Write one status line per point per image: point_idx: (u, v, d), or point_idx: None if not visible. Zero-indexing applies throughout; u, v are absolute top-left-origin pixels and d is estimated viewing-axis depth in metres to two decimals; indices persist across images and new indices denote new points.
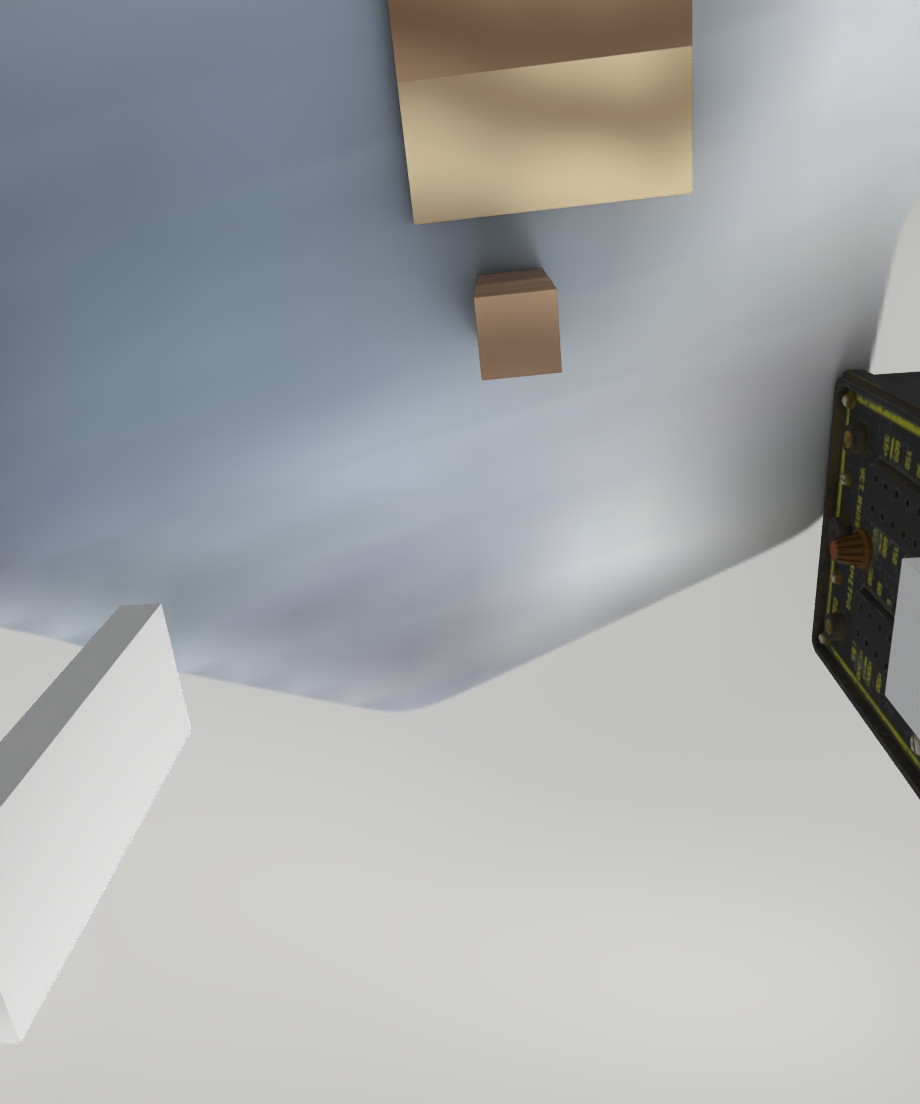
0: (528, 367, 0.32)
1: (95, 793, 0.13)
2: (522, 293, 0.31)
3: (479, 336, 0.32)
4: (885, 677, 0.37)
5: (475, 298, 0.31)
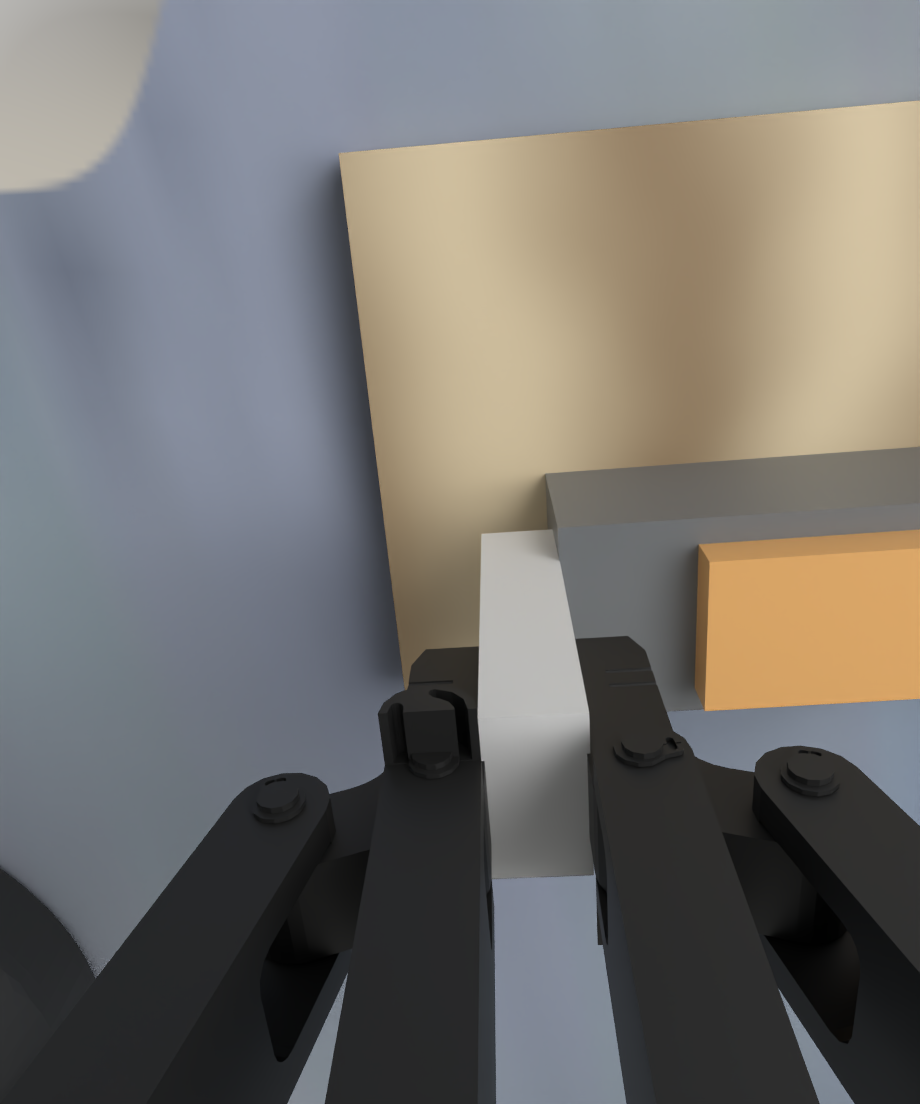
0: None
1: None
2: None
3: None
4: None
5: None
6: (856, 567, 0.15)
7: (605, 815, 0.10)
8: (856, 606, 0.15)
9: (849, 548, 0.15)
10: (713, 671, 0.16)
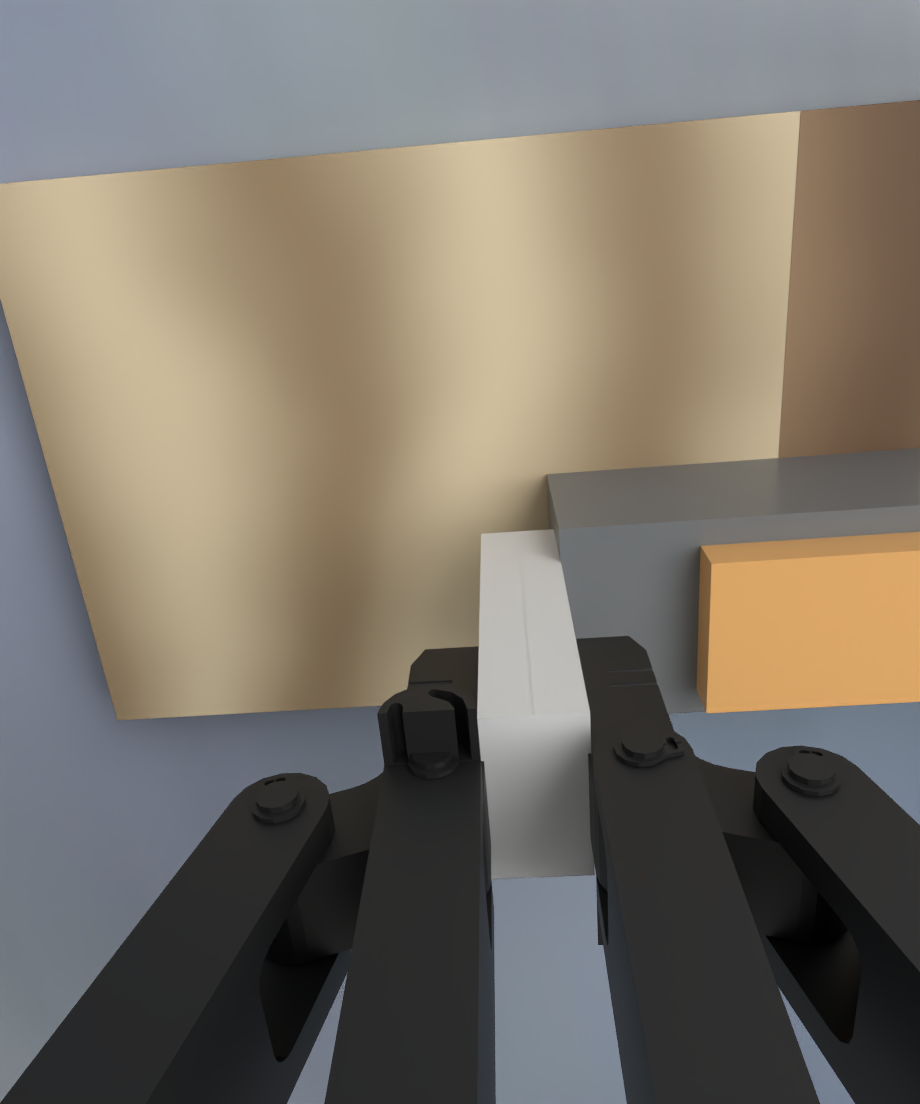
0: None
1: None
2: None
3: None
4: None
5: None
6: (859, 569, 0.15)
7: (605, 815, 0.10)
8: (859, 608, 0.15)
9: (852, 550, 0.15)
10: (714, 673, 0.15)
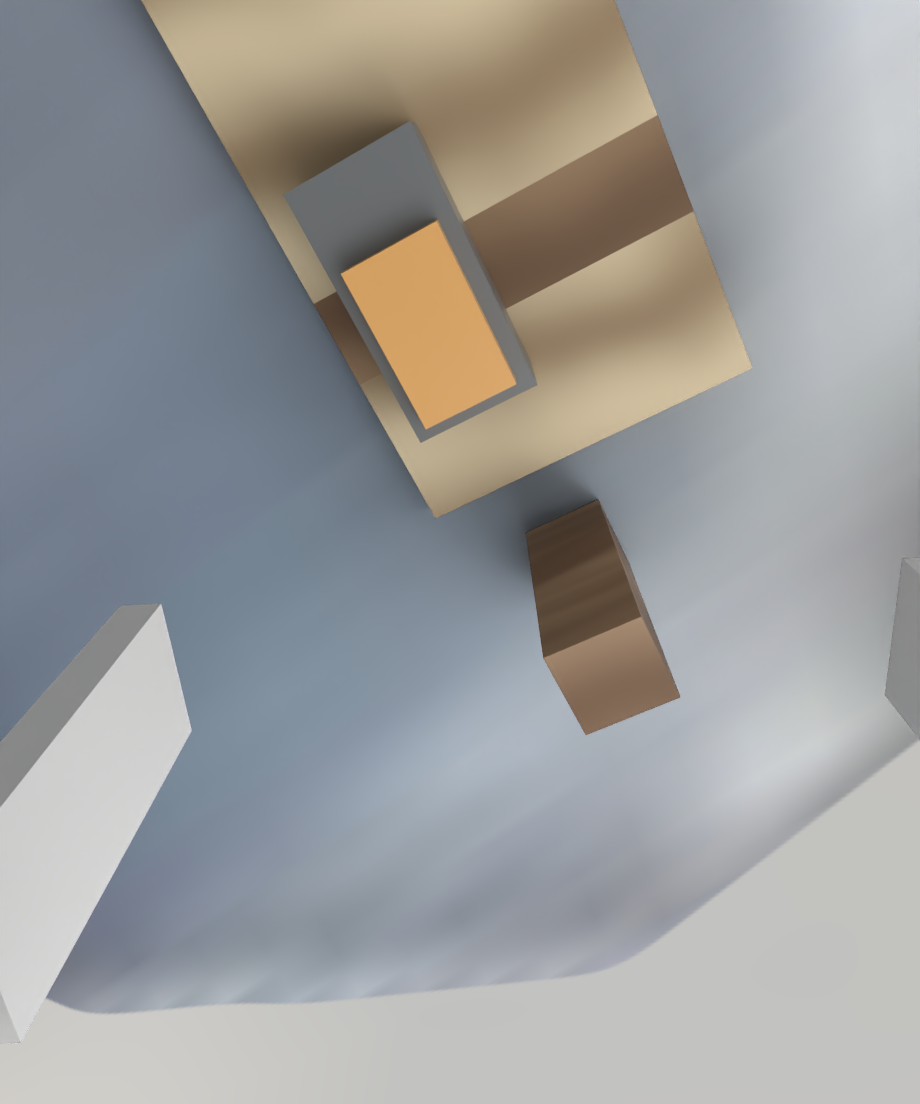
0: (637, 705, 0.25)
1: (95, 793, 0.13)
2: (600, 634, 0.24)
3: (565, 693, 0.25)
4: None
5: (545, 657, 0.25)
6: (468, 310, 0.24)
7: None
8: (446, 324, 0.24)
9: None
10: (368, 264, 0.24)
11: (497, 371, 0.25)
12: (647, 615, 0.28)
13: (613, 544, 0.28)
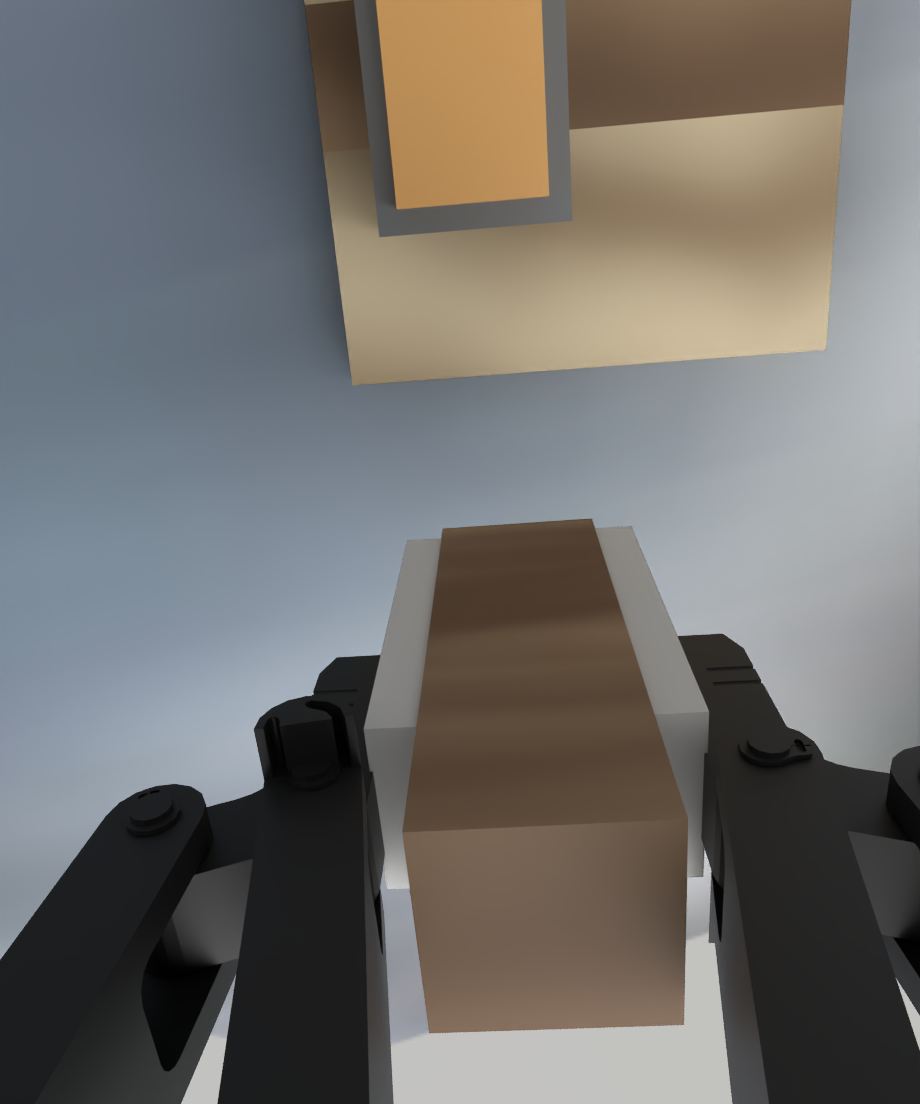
0: (578, 1009, 0.10)
1: None
2: (569, 824, 0.09)
3: (421, 930, 0.10)
4: None
5: (408, 831, 0.09)
6: (528, 51, 0.16)
7: (727, 810, 0.09)
8: (488, 59, 0.16)
9: None
10: None
11: (530, 164, 0.17)
12: None
13: (617, 608, 0.14)
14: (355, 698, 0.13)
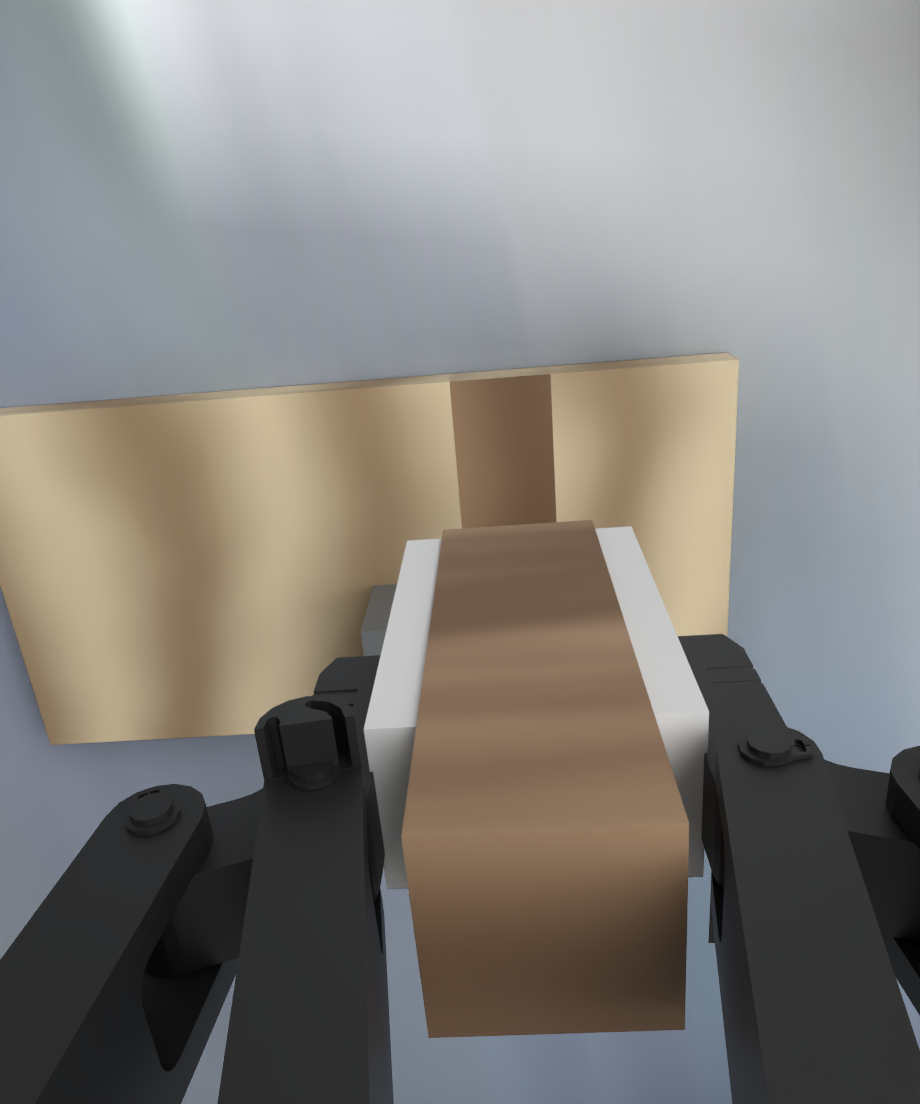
0: (578, 1014, 0.10)
1: None
2: (569, 829, 0.09)
3: (421, 934, 0.10)
4: None
5: (407, 835, 0.09)
6: None
7: (727, 810, 0.09)
8: None
9: None
10: None
11: None
12: None
13: (618, 610, 0.13)
14: (355, 698, 0.13)
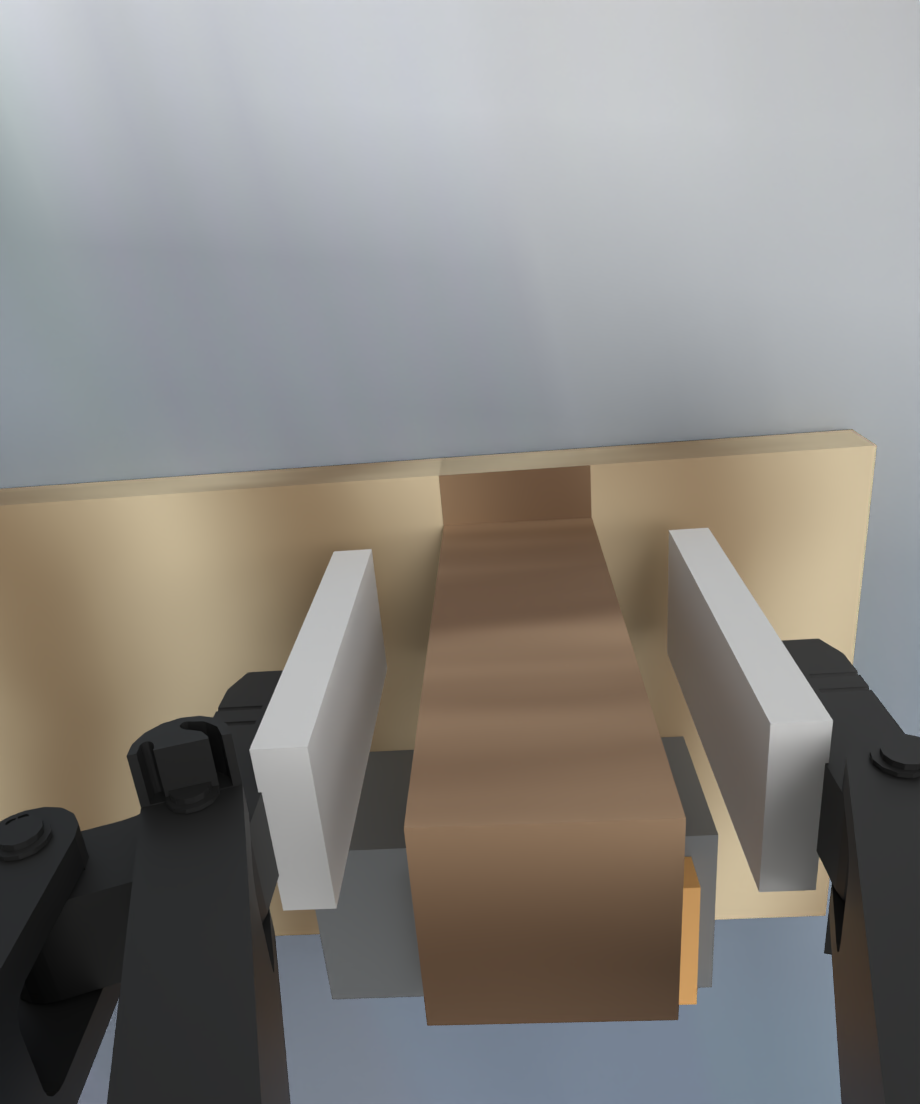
0: (574, 1003, 0.10)
1: (354, 707, 0.14)
2: (568, 822, 0.09)
3: (421, 924, 0.10)
4: None
5: (409, 827, 0.09)
6: None
7: (855, 818, 0.09)
8: None
9: None
10: None
11: None
12: None
13: (617, 608, 0.14)
14: (258, 715, 0.13)
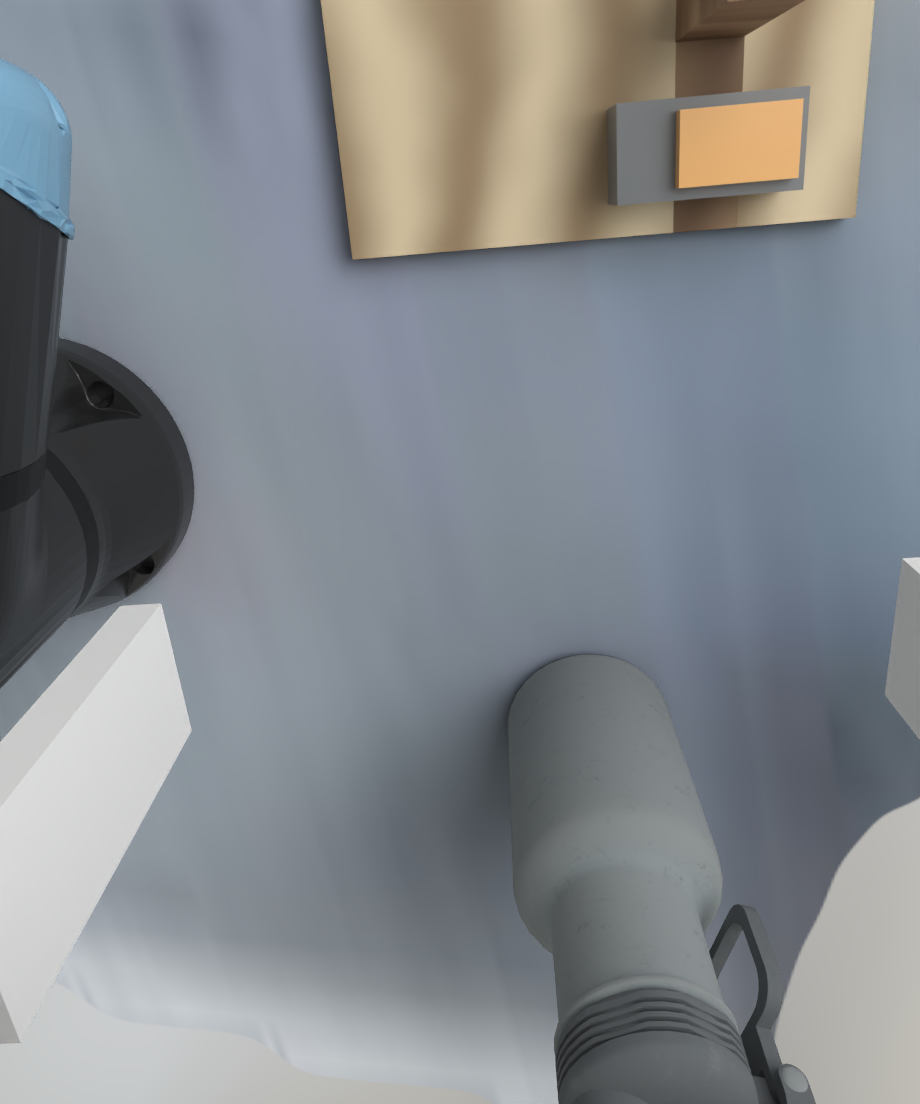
0: None
1: (95, 793, 0.13)
2: None
3: None
4: None
5: None
6: (741, 111, 0.36)
7: None
8: (741, 131, 0.36)
9: None
10: (682, 166, 0.36)
11: (788, 108, 0.35)
12: None
13: None
14: None
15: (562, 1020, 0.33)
